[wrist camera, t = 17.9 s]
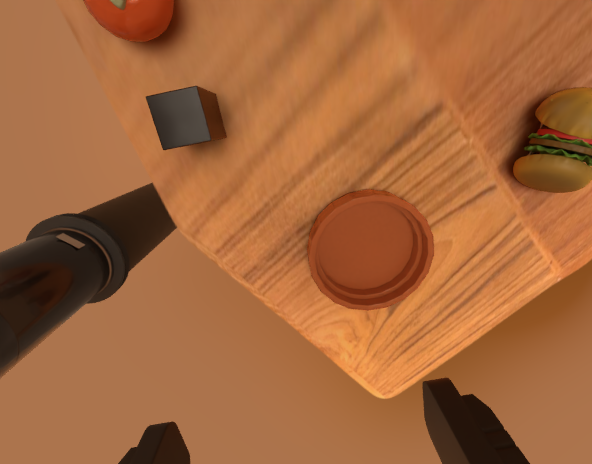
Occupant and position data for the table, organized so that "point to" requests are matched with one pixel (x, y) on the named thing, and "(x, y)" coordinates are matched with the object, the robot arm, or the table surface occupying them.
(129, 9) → the tomato
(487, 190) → the table surface
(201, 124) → the block
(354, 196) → the pan
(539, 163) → the hamburger
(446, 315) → the table surface
